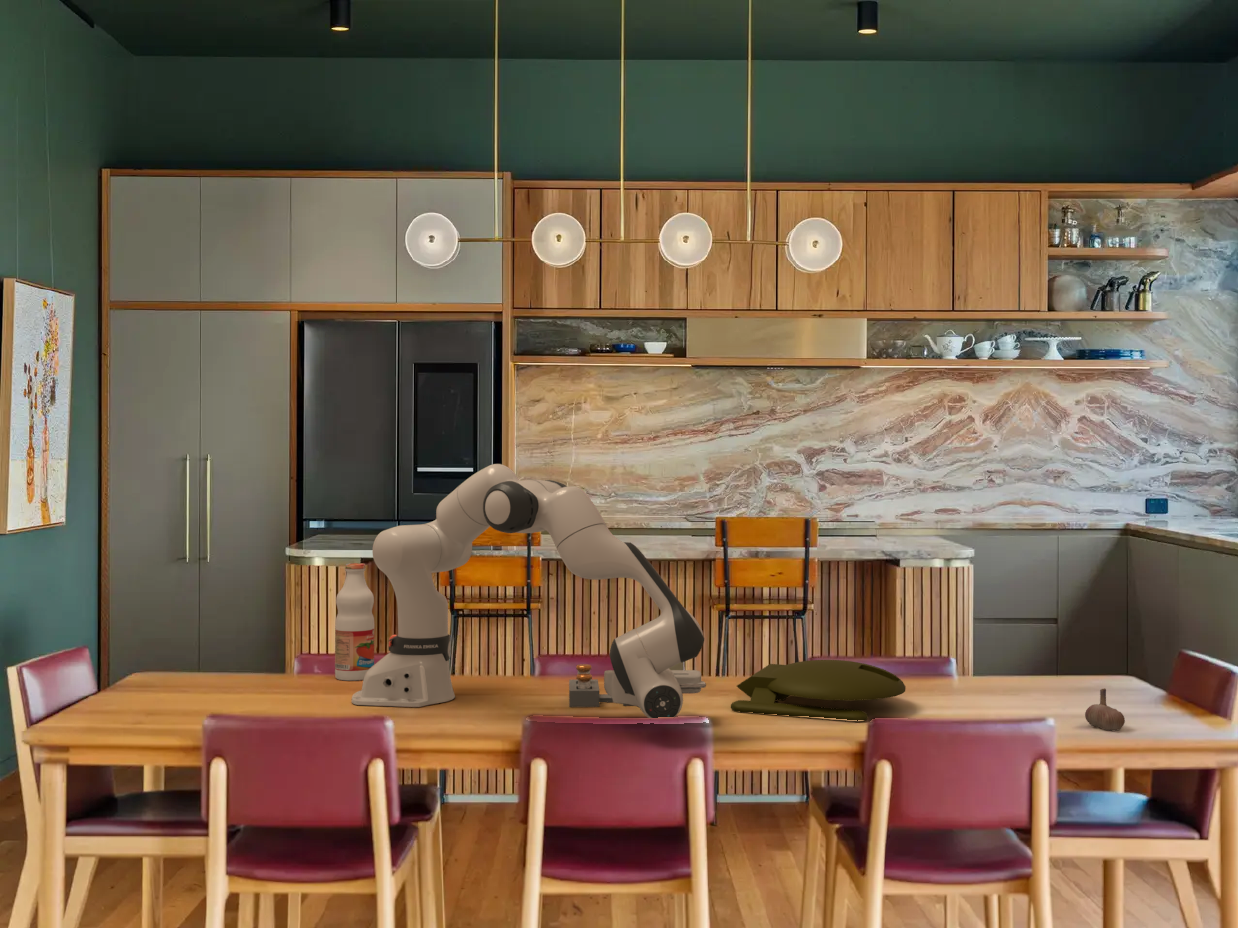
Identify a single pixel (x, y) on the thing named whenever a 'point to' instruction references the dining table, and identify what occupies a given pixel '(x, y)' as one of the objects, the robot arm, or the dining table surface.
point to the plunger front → (584, 681)
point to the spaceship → (817, 688)
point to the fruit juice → (354, 626)
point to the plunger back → (583, 668)
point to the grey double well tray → (587, 695)
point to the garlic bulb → (1104, 715)
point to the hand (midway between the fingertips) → (650, 674)
